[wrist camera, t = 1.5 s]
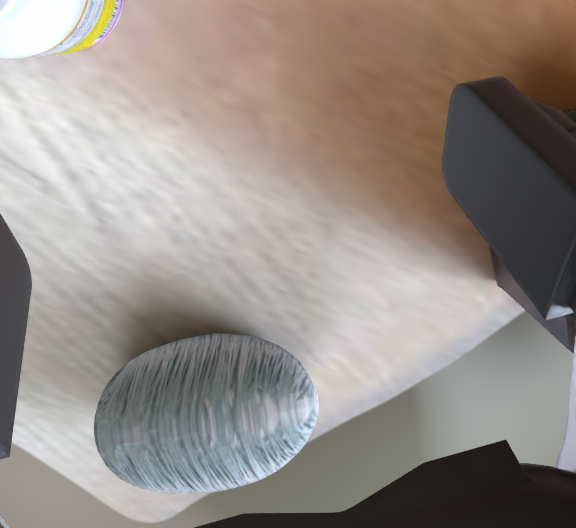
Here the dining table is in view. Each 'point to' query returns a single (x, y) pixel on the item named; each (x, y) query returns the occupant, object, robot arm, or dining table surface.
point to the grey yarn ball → (205, 414)
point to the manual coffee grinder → (558, 326)
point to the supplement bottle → (54, 26)
